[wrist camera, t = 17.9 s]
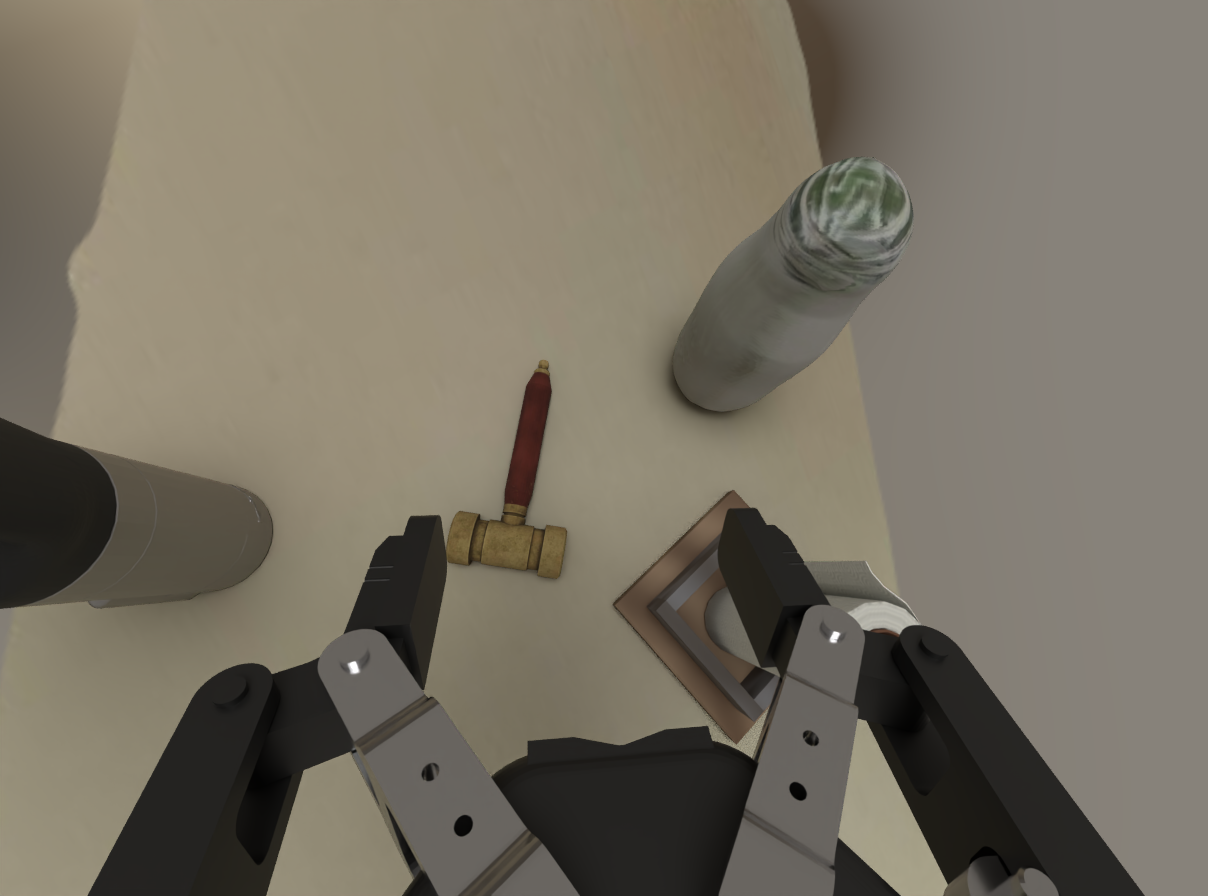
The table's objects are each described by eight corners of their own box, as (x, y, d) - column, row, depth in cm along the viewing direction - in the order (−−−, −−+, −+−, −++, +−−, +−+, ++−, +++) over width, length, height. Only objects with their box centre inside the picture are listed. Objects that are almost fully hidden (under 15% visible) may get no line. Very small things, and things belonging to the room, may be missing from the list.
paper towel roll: (748, 666, 46) (916, 749, 26) (691, 631, 46) (814, 685, 26) (781, 595, 48) (964, 619, 27) (727, 561, 48) (868, 560, 27)
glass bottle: (667, 326, 55) (793, 92, 28) (758, 346, 55) (967, 137, 28) (654, 412, 52) (777, 249, 25) (749, 432, 53) (967, 293, 26)
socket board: (730, 738, 46) (754, 761, 41) (612, 604, 47) (621, 609, 42) (840, 613, 50) (875, 619, 45) (728, 492, 51) (750, 483, 46)
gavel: (493, 340, 49) (595, 359, 50) (496, 361, 53) (590, 378, 54) (442, 560, 42) (560, 578, 43) (450, 563, 47) (557, 580, 48)
